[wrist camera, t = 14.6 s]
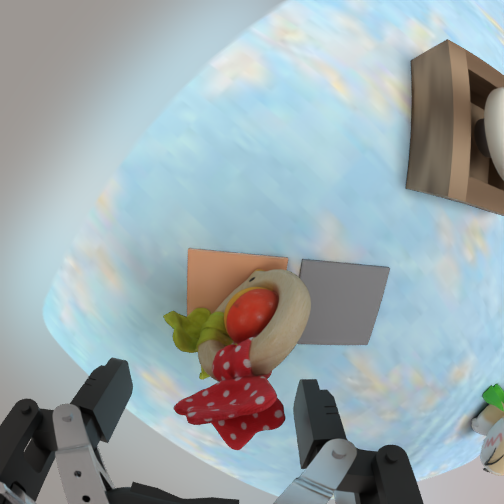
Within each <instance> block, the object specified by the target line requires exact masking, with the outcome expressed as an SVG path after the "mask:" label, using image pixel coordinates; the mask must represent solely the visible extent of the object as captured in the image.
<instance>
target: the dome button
mask: <svg viewBox="0 0 504 504" xmlns="http://www.w3.org/2000/svg"><path fill="white" fill-rule="evenodd" d="M474 137H475V142H476V145H477V147H478V149H479V151H480V152H481V154H482V155H483V156H485V157H487V158H492V161H493V163H494V166H495V168H496V170H497V172H498V174H499V175H500V177H501V178H502V179H503V181H504V87H501V88H497V89H494V90H493V91H491V93H490V94H489V96H488V98H487V100H486V104H485V112H484V118H482V119H479V120H478V121H477V122H476V124H475V128H474Z"/></svg>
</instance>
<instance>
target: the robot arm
mask: <svg viewBox="0 0 504 504" xmlns="http://www.w3.org/2000/svg"><path fill="white" fill-rule="evenodd" d="M132 390H133V384H132V380H131V375H130V371H129V366H128V362H127V361H126V360H121V359H116V358H111V359H110V360H109V361H108V363H107V364H106V365H105V366H102V365H101V366H99V367H98V368H96V369H95V370H93V372H92V373H91V374H90V376H89V378H88V379H87V380H86V382H85V384H83V386H82V387H81V388H80V390H79V391H78V393H77V394H76V396H75V397H74V398H73V400H72V402H71V403H70V404H62V405H60V406H58V407H56V409H55V410H47V409H40V408H39V407H38V405H37V403H36V402H35V401H33V400H31V399H22V400H20V401H18V402H17V403H16V404H15V406H14V407H13V408H12V410H11V411H10V413H9V414H8V415H7V417H6V418H5V420H4V421H3V422H2V424H1V426H0V504H36V503H35V501H36V499H37V497H38V494H39V492H40V489H41V487H42V485H43V483H44V480H45V478H46V476H47V474H48V472H49V469H50V467H51V465H52V463H53V461H54V459H55V457H56V461H57V465H58V470H59V474H60V477H61V481H62V484H63V488H64V492H65V495H66V498H67V501H68V504H239V500H236V499H223V498H213V497H211V498H196V499H182V498H179V497H177V496H174V495H172V494H170V493H167V492H165V491H162V490H160V489H158V488H155V487H151V486H147V485H143V484H139V483H135V482H133V483H132V486H131V487H121V488H115V486H114V484H113V482H112V481H111V479H110V477H109V474H108V472H107V469H106V467H105V464H104V461H103V459H102V456H101V453H100V451H99V448H98V446H97V445H98V443H99V441H103V442H107V443H108V442H109V440H110V438H111V436H112V434H113V431H114V429H115V427H116V425H117V423H118V421H119V419H120V417H121V415H122V413H123V411H124V409H125V407H126V405H127V403H128V401H129V399H130V397H131V394H132ZM293 411H294V420H295V427H296V434H297V442H298V449H299V457H300V464H301V469H306V470H305V471H304V472H303V473H302V474H301V476H300V477H299V478H296V479H295V480H294V481H293V482H292V483H291V484H290V485H289V487H288V488H287V489H286V490H285V491H284V492H283V493H282V494H281V495H280V497H279V498H278V499H277V500H276V501H275V502H274V503H273V504H327V502H328V501H329V500H330V498H331V497H332V495H333V493H334V497H335V503H336V504H423V500H422V497H421V494H420V491H419V488H418V485H417V482H416V479H415V476H414V473H413V470H412V467H411V465H410V462H409V459H408V456H407V454H406V452H405V451H404V450H403V449H402V448H401V447H399V446H396V445H386V446H383V447H382V448H380V449H379V450H378V452H376V451H366V450H360V449H357V448H356V447H355V446H354V445H353V444H352V443H351V442H350V441H348V440H347V438H346V435H345V432H344V429H343V425H342V422H341V419H340V415H339V414H338V409H337V407H336V403H335V399H334V397H333V396H332V395H331V394H330V392H329V391H328V390H320V389H319V385H318V382H317V380H316V379H301V380H300V381H299V384H298V388H297V393H296V397H295V401H294V410H293ZM30 439H31V441H30ZM29 441H30V443H29V445H28V446H27V444H28V442H29ZM26 446H27V448H26V450H25V452H24V449H25V447H26Z"/></svg>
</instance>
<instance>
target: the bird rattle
mask: <svg viewBox="0 0 504 504" xmlns="http://www.w3.org/2000/svg"><path fill="white" fill-rule="evenodd" d="M310 309H311V299H310V294H309V291H308V289H307V287H306V286H305V284H304V283H303V281H302V280H301V279H300V278H299V277H298V276H297V275H295V274H294V273H292V272H290V271H287V270H282V269H275V270H269V271H264V270H261V269H257V270H255V271H254V272H253V273H252V274H251V276H250V277H249V278H248V279H247V280H246V281H245V282H244V283H242V284H241V285H240V286H239V287H238V288H236V289H235V290H234V291H233V292H232V293H231V294H230V295H229V296H228V297H227V298H226V299H225V300H224V301H223V302H222V303H221V305H220V306H219V307H218V308H217V309H216V311H215V312H214V313H212V314H211V312H210V311H209V310H208V309H206V308H196V309H195V310H193V311H192V312H191V313H190V314H189V315H188V316H187V317H185V316H183V315H180V314H178V313H176V312H175V311H171V312H169V313H168V314H165V315H164V316H163V317H164V319H165V321H166V322H167V323H168V324H169V325H170V326H171V327H172V328H173V329H174V332H173V341H174V343H175V345H176V347H177V348H178V349H179V350H181V351H183V352H189V353H194V352H198V358H199V362H200V364H201V371H202V372H201V373H200V376H199V378H200V379H205V378H207V377H210V376H211V377H212V378H214V379H215V380H217V381H218V382H219V383H216V384H215V385H213V386H211V387H209V388H207V389H204V390H201V391H199V392H197V393H195V394H194V395H192V396H190V397H187V398H185V399H183V400H181V401H179V402H178V403H177V404H176V405H175V406H174V410H175V411H176V413H178V414H180V415H186V417H187V421H188V423H190V424H193V425H201V424H207V423H212V424H213V426H214V427H215V428H216V430H217V431H218V433H219V434H220V436H221V437H222V439H223V440H224V441H225V442H226V444H227V445H228V446H229V447H231V448H232V449H234V450H240V449H241V448H242V447H243V446H244V445H246V443H247V442H248V441H249V440H250V439H251V438H252V437H253V436H254V435H255V433H257V432H259V431H264V430H273V429H276V428H278V427H280V426H281V425H282V424H283V422H284V421H285V414H284V407H283V404H282V403H281V402H280V400H279V399H278V398H277V395H276V392H275V390H274V388H273V387H272V386H271V384H270V383H269V381H268V380H267V379H268V378H269V377H270V375H271V373H272V370H273V369H274V368H275V367H277V366H278V365H279V364H280V363H281V362H282V361H283V360H284V359H285V358H286V357H287V356H288V355H289V353H290V352H291V351H292V349H293V348H294V347H295V345H296V344H297V342H298V341H299V339H300V337H301V335H302V333H303V331H304V329H305V327H306V324H307V322H308V318H309V315H310Z"/></svg>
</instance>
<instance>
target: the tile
mask: <svg viewBox="0 0 504 504" xmlns="http://www.w3.org/2000/svg"><path fill="white" fill-rule="evenodd" d="M287 263H288V258H286V257H276V256H265V255H255V254H244V253H234V252H223V251H213V250H203V249H192V248H189V249H188V272H187V316H188V315H189V314H190V313H191V312H192V311H193V310H195V309H196V308H206V309H208V310H209V311H210V312H211V314H212V313H214V312H215V311H216V309H217V308H218V307H219V306H220V305H221V303H222V302H223V301H224V300H225V299H226V298H227V297H228V296H229V295H230V294H231V293H232V292H233V291H234V290H235V289H236V288H238V287H239V286H240V285H241V284H242V283H244V282H245V281H246V280H247V279H248V278H249V277H250V276H251V274H252V273H253V272H254V271H255V270H257V269H261V270H264V271H269V270H275V269H282V270H287Z"/></svg>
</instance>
